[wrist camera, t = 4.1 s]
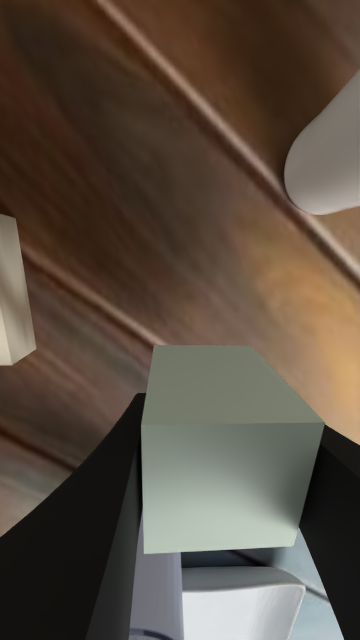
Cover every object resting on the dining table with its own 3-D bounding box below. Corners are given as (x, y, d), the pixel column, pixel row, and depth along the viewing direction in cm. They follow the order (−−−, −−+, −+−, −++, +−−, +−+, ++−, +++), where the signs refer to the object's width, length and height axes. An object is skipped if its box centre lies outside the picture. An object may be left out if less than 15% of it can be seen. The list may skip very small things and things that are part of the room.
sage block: (240, 425, 11) (293, 545, 7) (154, 427, 11) (143, 553, 6) (250, 346, 10) (324, 422, 5) (154, 345, 10) (141, 424, 5)
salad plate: (103, 549, 23) (91, 598, 20) (292, 544, 24) (311, 589, 21) (108, 654, 29) (100, 706, 25) (261, 646, 30) (272, 693, 27)
